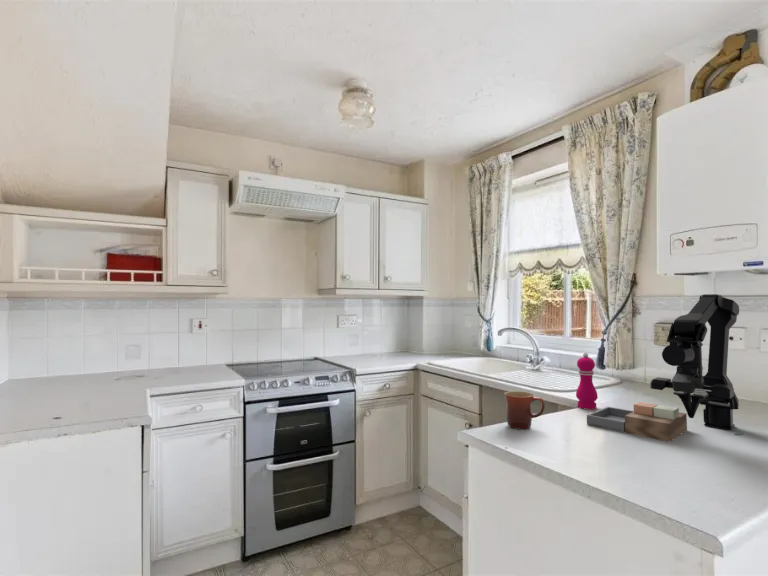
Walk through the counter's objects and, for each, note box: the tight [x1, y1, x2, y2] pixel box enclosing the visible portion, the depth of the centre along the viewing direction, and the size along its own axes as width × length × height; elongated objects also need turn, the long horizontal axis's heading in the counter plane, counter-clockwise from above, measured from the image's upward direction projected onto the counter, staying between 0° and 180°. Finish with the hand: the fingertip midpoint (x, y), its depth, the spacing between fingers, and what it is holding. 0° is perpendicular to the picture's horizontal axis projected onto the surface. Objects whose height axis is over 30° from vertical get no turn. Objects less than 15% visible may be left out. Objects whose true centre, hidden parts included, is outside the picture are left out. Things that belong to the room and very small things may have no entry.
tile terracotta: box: [633, 401, 659, 416], centre depth 130 cm, size 5×5×2 cm
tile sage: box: [654, 404, 680, 420], centre depth 126 cm, size 5×5×2 cm
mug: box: [503, 390, 546, 430], centre depth 134 cm, size 12×9×10 cm
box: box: [586, 406, 634, 433], centre depth 137 cm, size 11×16×3 cm
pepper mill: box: [575, 352, 598, 410], centre depth 158 cm, size 7×7×20 cm
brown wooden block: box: [624, 412, 688, 443], centre depth 128 cm, size 12×16×5 cm
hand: (691, 417), depth 121 cm, fingers closed
